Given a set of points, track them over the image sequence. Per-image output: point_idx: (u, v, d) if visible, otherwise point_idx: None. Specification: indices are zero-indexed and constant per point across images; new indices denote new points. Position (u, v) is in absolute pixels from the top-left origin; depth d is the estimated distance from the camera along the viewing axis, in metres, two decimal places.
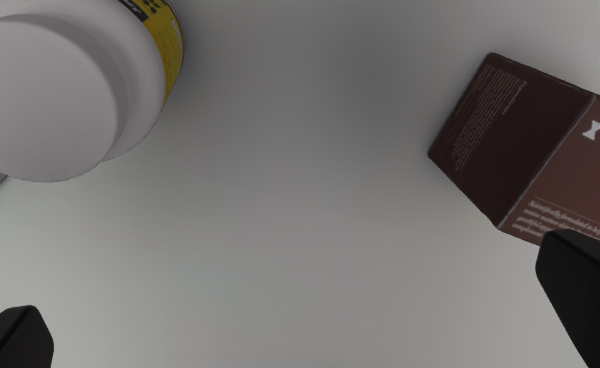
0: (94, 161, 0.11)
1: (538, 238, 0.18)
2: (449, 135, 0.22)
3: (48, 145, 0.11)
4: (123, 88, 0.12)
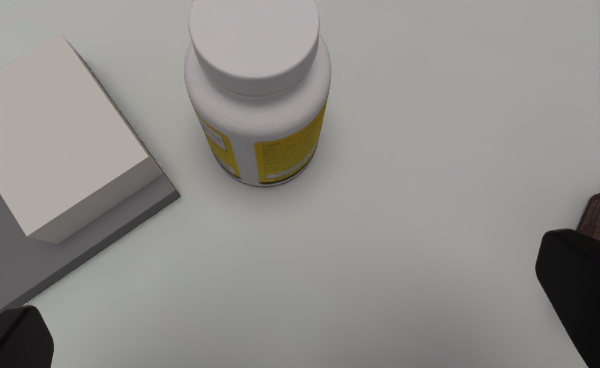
0: (288, 65, 0.13)
1: None
2: None
3: (256, 46, 0.13)
4: (318, 38, 0.14)
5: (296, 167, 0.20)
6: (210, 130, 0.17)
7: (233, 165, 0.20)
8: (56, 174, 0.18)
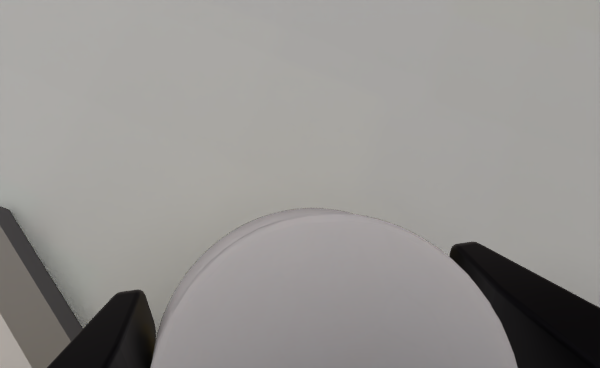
0: None
1: None
2: None
3: None
4: None
5: None
6: None
7: None
8: None
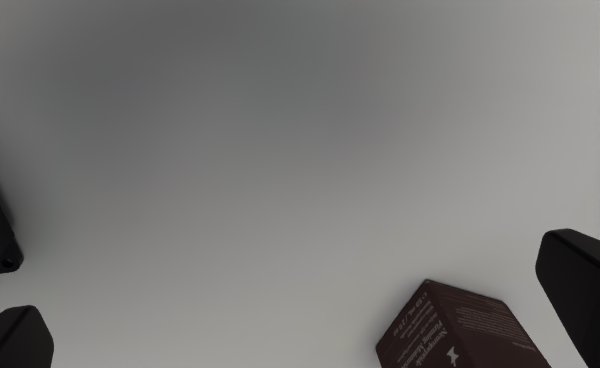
0: None
1: None
2: (457, 297, 0.25)
3: None
4: None
5: None
6: None
7: None
8: None
